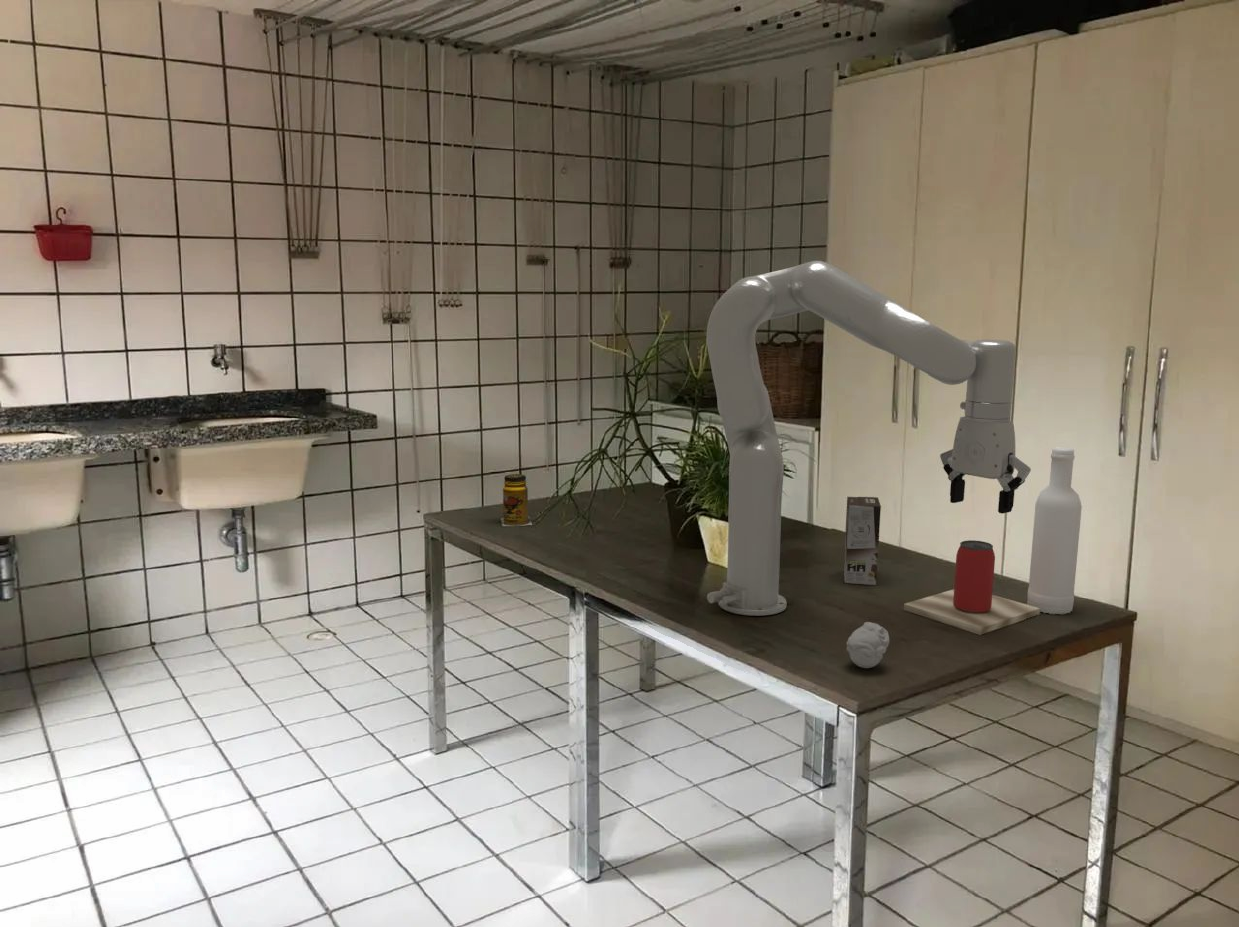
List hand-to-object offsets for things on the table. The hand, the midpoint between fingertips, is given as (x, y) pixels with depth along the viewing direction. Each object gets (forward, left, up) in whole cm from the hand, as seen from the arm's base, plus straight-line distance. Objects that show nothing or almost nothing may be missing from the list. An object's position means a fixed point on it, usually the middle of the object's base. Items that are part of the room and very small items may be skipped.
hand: (980, 507), depth 177 cm
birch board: (+1, +1, -20) cm, 20 cm away
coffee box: (+1, +27, -20) cm, 34 cm away
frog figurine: (-35, -5, -20) cm, 41 cm away
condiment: (-32, +108, -20) cm, 114 cm away
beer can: (0, 0, -19) cm, 19 cm away
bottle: (+15, -6, -20) cm, 26 cm away
